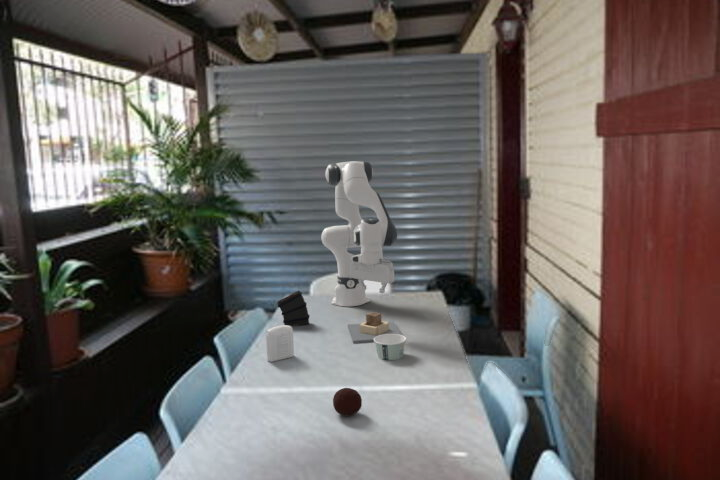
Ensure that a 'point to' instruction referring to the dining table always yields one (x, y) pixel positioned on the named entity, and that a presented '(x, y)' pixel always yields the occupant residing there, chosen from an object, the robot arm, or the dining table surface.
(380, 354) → the food container
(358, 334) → the mount plate
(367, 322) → the block
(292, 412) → the dining table surface
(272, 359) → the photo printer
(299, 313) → the black ridged flat block
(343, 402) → the brown ball
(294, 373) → the dining table surface
